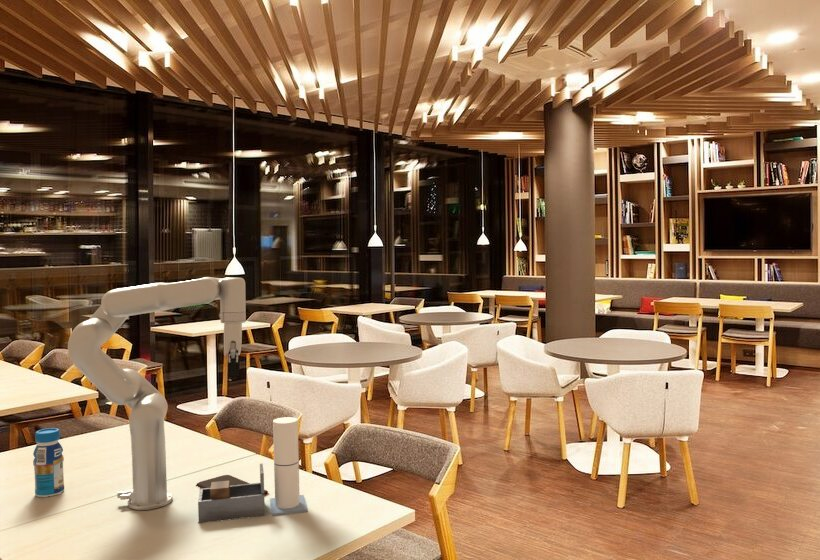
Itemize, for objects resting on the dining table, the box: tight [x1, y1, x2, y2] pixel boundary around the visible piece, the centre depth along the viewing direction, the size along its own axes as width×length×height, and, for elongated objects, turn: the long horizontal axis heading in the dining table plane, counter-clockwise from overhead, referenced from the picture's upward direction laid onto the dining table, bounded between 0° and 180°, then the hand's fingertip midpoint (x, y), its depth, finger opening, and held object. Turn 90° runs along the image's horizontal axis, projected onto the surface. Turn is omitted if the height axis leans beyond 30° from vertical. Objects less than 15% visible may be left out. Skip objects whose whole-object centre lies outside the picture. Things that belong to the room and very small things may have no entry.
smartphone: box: [195, 474, 269, 497], centre depth 208 cm, size 12×2×25 cm
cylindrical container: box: [272, 416, 301, 509], centre depth 193 cm, size 7×7×25 cm
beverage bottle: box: [32, 427, 65, 498], centre depth 207 cm, size 8×8×20 cm
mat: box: [269, 494, 308, 516], centre depth 194 cm, size 10×12×1 cm
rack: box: [197, 463, 266, 524], centre depth 189 cm, size 18×11×12 cm, turn 105°
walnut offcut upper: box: [210, 481, 230, 500], centre depth 189 cm, size 5×6×4 cm
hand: (233, 372), depth 202 cm, fingers open, 9 cm apart
